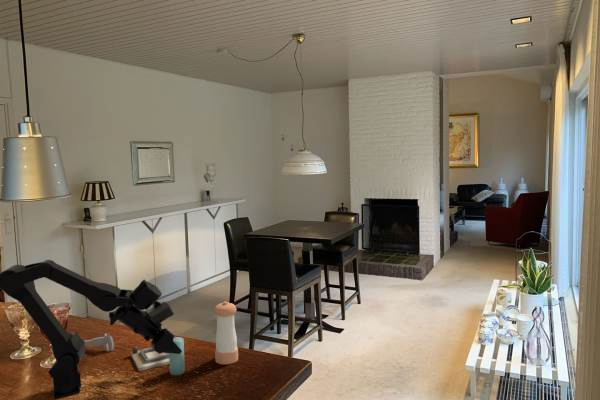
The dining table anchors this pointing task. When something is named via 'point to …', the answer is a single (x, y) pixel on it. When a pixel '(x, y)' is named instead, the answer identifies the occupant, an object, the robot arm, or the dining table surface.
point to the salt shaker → (226, 334)
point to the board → (148, 358)
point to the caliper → (102, 342)
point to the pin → (177, 358)
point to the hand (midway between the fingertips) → (175, 346)
